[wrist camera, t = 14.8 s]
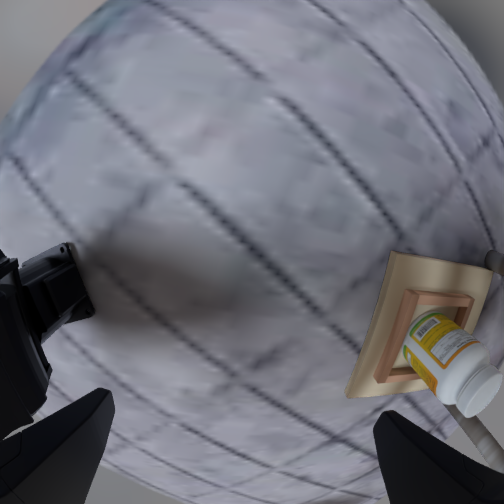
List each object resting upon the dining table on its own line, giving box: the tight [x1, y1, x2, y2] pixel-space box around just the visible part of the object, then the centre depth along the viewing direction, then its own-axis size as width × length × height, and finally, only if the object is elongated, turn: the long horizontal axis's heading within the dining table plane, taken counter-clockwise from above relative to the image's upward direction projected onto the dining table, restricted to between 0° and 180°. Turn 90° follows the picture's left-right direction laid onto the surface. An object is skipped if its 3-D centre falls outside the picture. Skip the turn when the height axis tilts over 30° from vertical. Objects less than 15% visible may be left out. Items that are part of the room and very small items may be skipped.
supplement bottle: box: [402, 311, 503, 418], centre depth 16 cm, size 5×5×10 cm
